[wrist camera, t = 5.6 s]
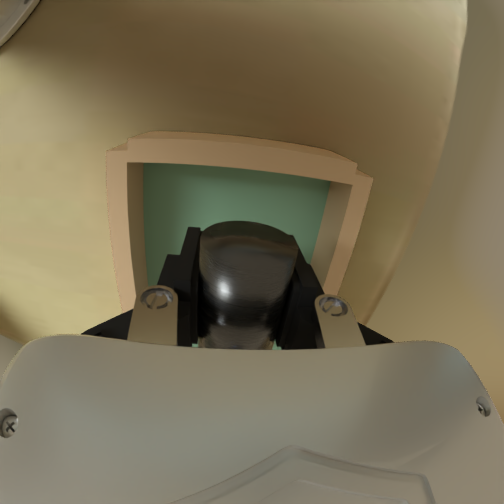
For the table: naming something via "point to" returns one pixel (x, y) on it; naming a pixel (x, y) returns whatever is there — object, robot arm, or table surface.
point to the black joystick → (243, 284)
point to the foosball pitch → (228, 200)
